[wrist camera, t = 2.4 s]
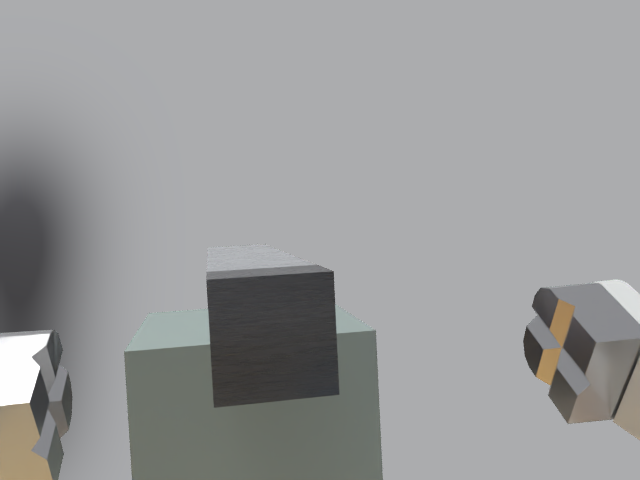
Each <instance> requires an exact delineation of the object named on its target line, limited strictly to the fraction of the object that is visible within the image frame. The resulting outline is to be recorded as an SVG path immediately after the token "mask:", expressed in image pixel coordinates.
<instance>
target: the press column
mask: <svg viewBox="0 0 640 480" xmlns="http://www.w3.org/2000/svg"><path fill="white" fill-rule="evenodd" d="M335 312H336V332H337V353H338V373H339V393H340V395H333V396H323V397H314V398H304V399H294V400H285V401H275V402H265V403H256V404H246V405H236V406H227V407H217V408H214V402H213V385H212V367H211V350H210V332H209V315H208V309H200V310H187V311H173V312H160V313H149V314H148V316H147V317H146V319H145V320H144V322H143V323H142V325H141V327H140V328H139V330H138V331H137V333H136V334H135V336H134V337H133V339H132V340H131V342H130V344H129V345H128V347H127V348H126V350H125V351H124V356H125V372H126V389H127V405H128V421H129V437H130V453H131V468H132V480H383V476H382V455H381V454H382V453H381V432H380V410H379V389H378V369H377V368H378V367H377V348H376V330H374V329H373V328H372V327H370V326H368V325H367V324H365V323H364V322H362V321H361V320H359V319H358V318H356V317H355V316H353V315H351V314H350V313H348V312H346V311H345V310H344V309H342V308H341V307H339V306H338V305H336V304H335Z"/></svg>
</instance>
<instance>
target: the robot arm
mask: <svg viewBox="0 0 640 480" xmlns="http://www.w3.org/2000/svg"><path fill="white" fill-rule="evenodd" d="M532 307H533V309H534V311H535V313H536V314H537V316H536V317H535V318H534V319H533V320H532V321H531V322H530V323H529V324H528V325H527V327H526V331H525V336H524V341H523V342H524V351H525V357H526V360H527V362H528V365H529V367H530V369H531V370H532V372H533V373H534V375H535V376H536V377H537V378H539V379H540V380H542V381H544V382H545V383H547V384H549V385H550V388H549V394H548V396H549V397H550V399H551V400H552V401H553V403H554V404H555V406H556V407H557V409H558V410H559V412H560V413H561V414H562V416H563V418H564V419H565V420H566V422H567V423H568V424H572V423H582V422H592V421H602V420H612V419H614V421H613V422H614V423H616V424H617V425H619V426H620V427H621V428H623V429H624V430H626V431H627V432H629V433H630V434H631V435H633V436H634V437H636V438H637V439H639V440H640V295H639V294H638V293H637V292H636V291H635V290H634V289H633V288H632V287H631V286H630V285H629V284H628V283H626V282H624V281H621V280H619V279H616V280H608V281H599V282H592V283H588V284H577V285H566V286H555V287H545V288H540V289H539V291H538V292H537V293H536V295H535V297H534V301H533V304H532ZM62 351H63V350H62V345H61V342H60V338H59V335H58V333H57V332H56V331H55V330H42V331H27V332H12V333H0V480H58V477H59V473H60V468H61V464H62V459H63V455H64V453H63V449H62V445H61V441H60V438H61V437H62V436H63V435H64V434H65V433H66V432H67V431H68V430H69V425H70V420H71V415H72V414H71V413H72V391H71V382H70V378H69V374H68V371H67V370H66V369H65V368H63V367H62V366H60V365H59V363H60V359H61V354H62Z"/></svg>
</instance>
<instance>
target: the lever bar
mask: <svg viewBox="0 0 640 480" xmlns="http://www.w3.org/2000/svg"><path fill="white" fill-rule="evenodd" d="M334 292H335V291H334V272H333V271H332V270H329V269H327V268H324V267H321V266H319V265H316V264H314V263H311V262H309V261H306V260H304V259H301V258H299V257H296V256H293V255H291V254H288V253H286V252H283V251H281V250H278V249H276V248H273V247H271V246H268V245H266V244H260V245H243V246H226V247H208V250H207V297H208V315H209V332H210V350H211V367H212V385H213V402H214V408H217V407H227V406H236V405H246V404H256V403H265V402H275V401H285V400H294V399H304V398H314V397H323V396H333V395H340V393H339V373H338V353H337V332H336V312H335V293H334Z"/></svg>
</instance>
